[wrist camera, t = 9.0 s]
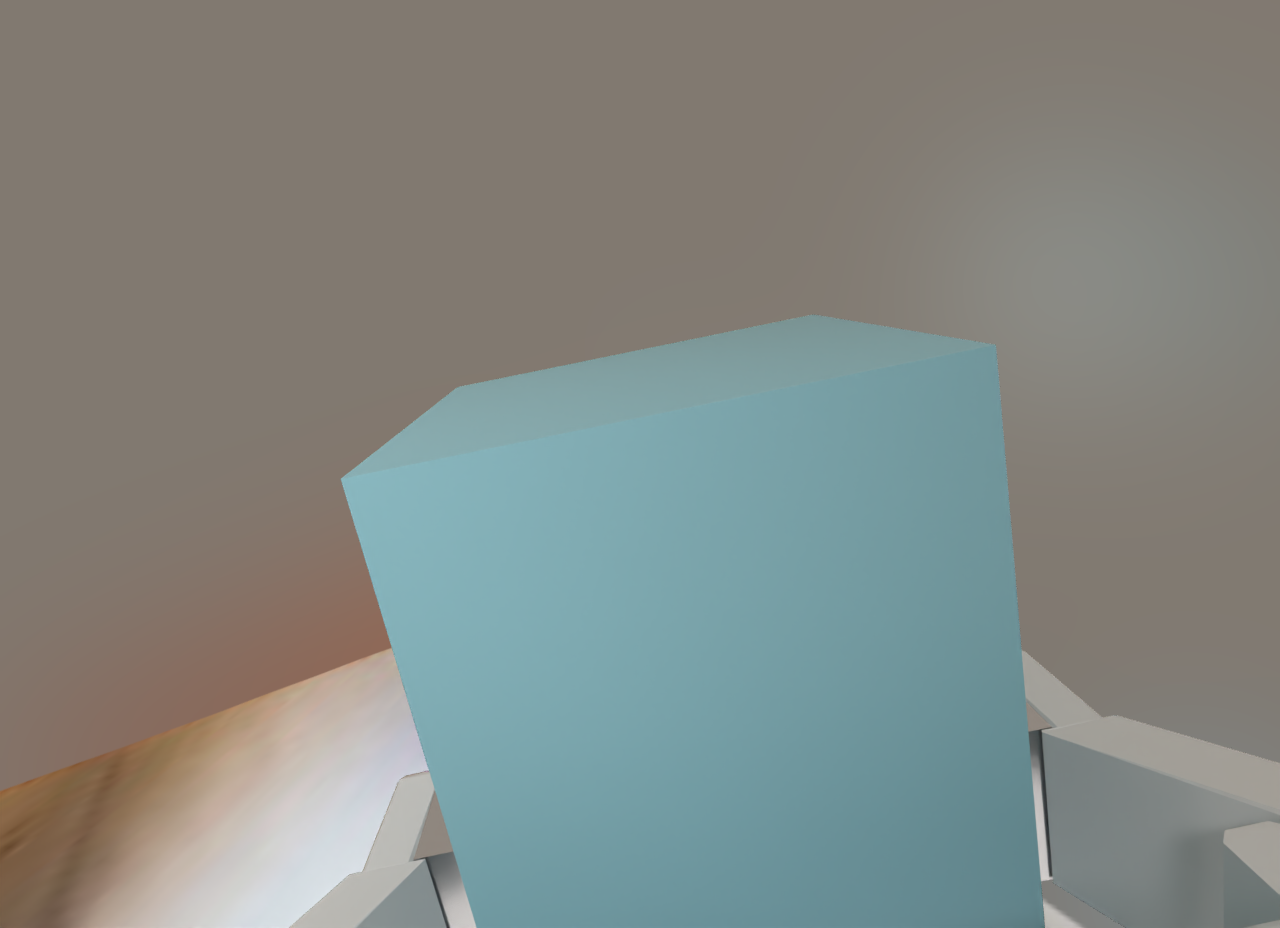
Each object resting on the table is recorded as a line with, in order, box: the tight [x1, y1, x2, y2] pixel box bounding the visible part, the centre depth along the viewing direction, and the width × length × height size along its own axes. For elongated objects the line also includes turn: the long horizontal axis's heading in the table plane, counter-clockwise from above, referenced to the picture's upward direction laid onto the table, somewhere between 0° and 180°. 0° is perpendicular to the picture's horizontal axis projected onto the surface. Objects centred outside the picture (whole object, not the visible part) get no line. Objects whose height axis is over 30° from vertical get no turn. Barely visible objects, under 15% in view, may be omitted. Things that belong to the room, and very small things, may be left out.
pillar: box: [341, 315, 1045, 928], centre depth 9 cm, size 4×4×11 cm
